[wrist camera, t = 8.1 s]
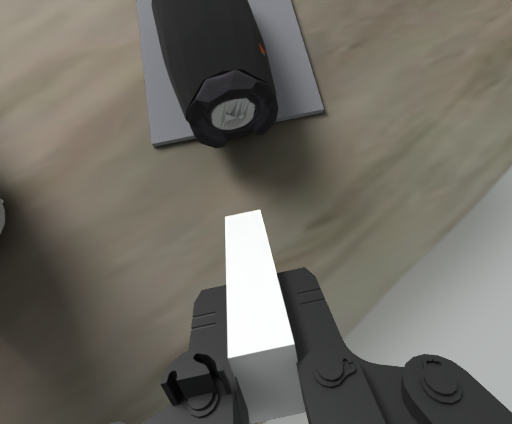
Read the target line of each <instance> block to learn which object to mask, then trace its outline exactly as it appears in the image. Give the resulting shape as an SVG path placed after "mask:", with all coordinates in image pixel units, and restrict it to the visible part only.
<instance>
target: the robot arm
mask: <svg viewBox="0 0 512 424" xmlns="http://www.w3.org/2000/svg"><path fill="white" fill-rule="evenodd" d="M225 239H226V285H224V286H219V287H215V288H210V289H205V290H202V291H201V292H200V294H199V296H198V297H197V299H196V301H195V303H194V310H193V319H192V327H191V328H192V331H191V336H190V344H189V351H188V352H186V353H183V354H182V355H181V356H179V357H178V358H177V359H175V360H174V361H173V362H172V363H171V364H170V366H169V367H168V368H167V370H166V371H165V373H164V376H163V378H162V381H161V386H162V388H163V389H164V391H165V393H166V395H167V397H168V398H169V400H170V402H171V404H170V405H169V406H168V407H167V408H165V409H164V410H162V411H161V412H159V413H158V414H156V415H154V416H153V417H151V418H149V419H147V420H146V421H144V422H142V423H140V424H249V419H250V422H251V424H253V423H257V422H262V421H266V420H271V419H276V418H280V417H285V416H290V415H294V414H298V413H303V412H306V414H307V418H308V422H309V424H512V413H511V412H510V411H509V410H508V409H507V408H506V407H505V406H504V405H503V404H502V403H501V402H499V401H498V400H497V399H496V398H495V397H494V396H493V395H492V394H491V393H490V392H489V391H487V390H486V389H485V388H484V387H483V386H482V385H481V384H480V383H479V382H478V381H476V380H475V379H474V378H473V377H472V376H471V375H470V374H469V373H468V372H467V371H466V370H464V369H463V368H461V367H460V366H458V365H457V364H456V363H454V362H453V361H451V360H448V359H446V358H443V357H440V356H438V355H428V354H427V355H426V354H423V355H419V356H416V357H413V358H412V359H411V360H409V361H408V362H407V363H406V364H405V367H397V366H388V365H379V364H374V363H370V362H367V361H365V360H363V359H361V358H359V357H358V356H356V355H355V354H353V353H352V352H351V351H350V350H349V349H348V348H347V346H346V345H345V343H344V341H343V340H342V337H341V335H340V333H339V330H338V328H337V326H336V323H335V321H334V319H333V316H332V314H331V312H330V309H329V307H328V305H327V303H326V301H325V298H324V296H323V293H322V291H321V289H320V286H319V284H318V282H317V279H316V277H315V276H314V275H313V274H312V273H311V272H310V271H308V270H307V269H306V268H305V267H304V268H299V269H295V270H290V271H285V272H281V273H276V269H275V265H274V262H273V258H272V254H271V250H270V246H269V242H268V238H267V234H266V230H265V226H264V223H263V219H262V215H261V211H260V210H255V211H250V212H246V213H241V214H236V215H232V216H227V217H225ZM109 424H126V423H123V422H114V423H109Z"/></svg>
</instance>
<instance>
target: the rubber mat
mask: <svg viewBox="0 0 512 424" xmlns="http://www.w3.org/2000/svg"><path fill="white" fill-rule="evenodd" d="M248 2H249V5H250V8H251V10H252V13H253V15H254V18H255V20H256V23H257V26H258V28H259V31H260V33H261V36H262V39H263V42H264V45H265V48H266V52H267V56H268V60H269V64H270V69H271V73H272V77H273V81H274V85H275V90H276V98H277V103H278V113H277V119H276V122H279V121H284V120H289V119H294V118H299V117H304V116H309V115H314V114H319V113H323V111H324V108H323V104H322V101H321V98H320V95H319V91H318V88H317V85H316V81H315V78H314V75H313V72H312V68H311V65H310V62H309V58H308V55H307V52H306V49H305V45H304V42H303V39H302V36H301V32H300V29H299V26H298V22H297V19H296V16H295V13H294V9H293V6H292V3H291V0H248ZM151 4H152V0H136V5H137V14H138V23H139V32H140V42H141V51H142V60H143V70H144V79H145V88H146V97H147V107H148V116H149V125H150V135H151V144H152V145H153V146H154V147H156V146H161V145H165V144H170V143H175V142H180V141H185V140H190V139H195V138H196V137H195V136H194V134H193V132H192V129H191V127H190V125H189V123H188V122H187V121H186V119H185V117H184V114H183V112H182V109H181V107H180V104H179V102H178V99H177V97H176V94H175V92H174V89H173V87H172V84H171V82H170V79H169V76H168V73H167V69H166V66H165V63H164V60H163V56H162V52H161V47H160V43H159V38H158V34H157V29H156V25H155V20H154V15H153V11H152V6H151Z"/></svg>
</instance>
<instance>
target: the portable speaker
mask: <svg viewBox="0 0 512 424" xmlns="http://www.w3.org/2000/svg"><path fill="white" fill-rule="evenodd" d="M151 6H152V11H153V15H154V20H155V25H156V29H157V34H158V38H159V43H160V47H161V52H162V56H163V60H164V63H165V66H166V69H167V73H168V76H169V79H170V82H171V84H172V87H173V89H174V92H175V94H176V97H177V99H178V102H179V104H180V107H181V109H182V112H183V114H184V117H185V119H186V121H187V122H188V123H189V125H190V127H191V129H192V132H193V134H194V136H195V137H196V138H197V140H198V141H199V142H200V143H202V144H205V145H208V146H211V147H214V148H220V147H224V146H225V144H226V142H227V140H230V139H234V138H237V137H240V136H244V135H247V134H250V133H255V134H256V135H263V134H264V133H265V132H266V131H267V130H268V129H269V128H270V127H271V126H272V125H273V124H274V123H275V122H276V119H277V113H278V103H277V98H276V90H275V85H274V81H273V77H272V73H271V69H270V64H269V60H268V56H267V52H266V48H265V45H264V42H263V39H262V36H261V33H260V31H259V28H258V26H257V23H256V20H255V18H254V15H253V13H252V10H251V8H250V5H249V2H248V0H152V4H151Z"/></svg>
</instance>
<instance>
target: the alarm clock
mask: <svg viewBox="0 0 512 424" xmlns="http://www.w3.org/2000/svg"><path fill="white" fill-rule="evenodd" d="M2 203H3V200H1V198H0V234H1V232H2V230H3V227H4V225H5V210H4V207H3V204H2Z"/></svg>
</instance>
